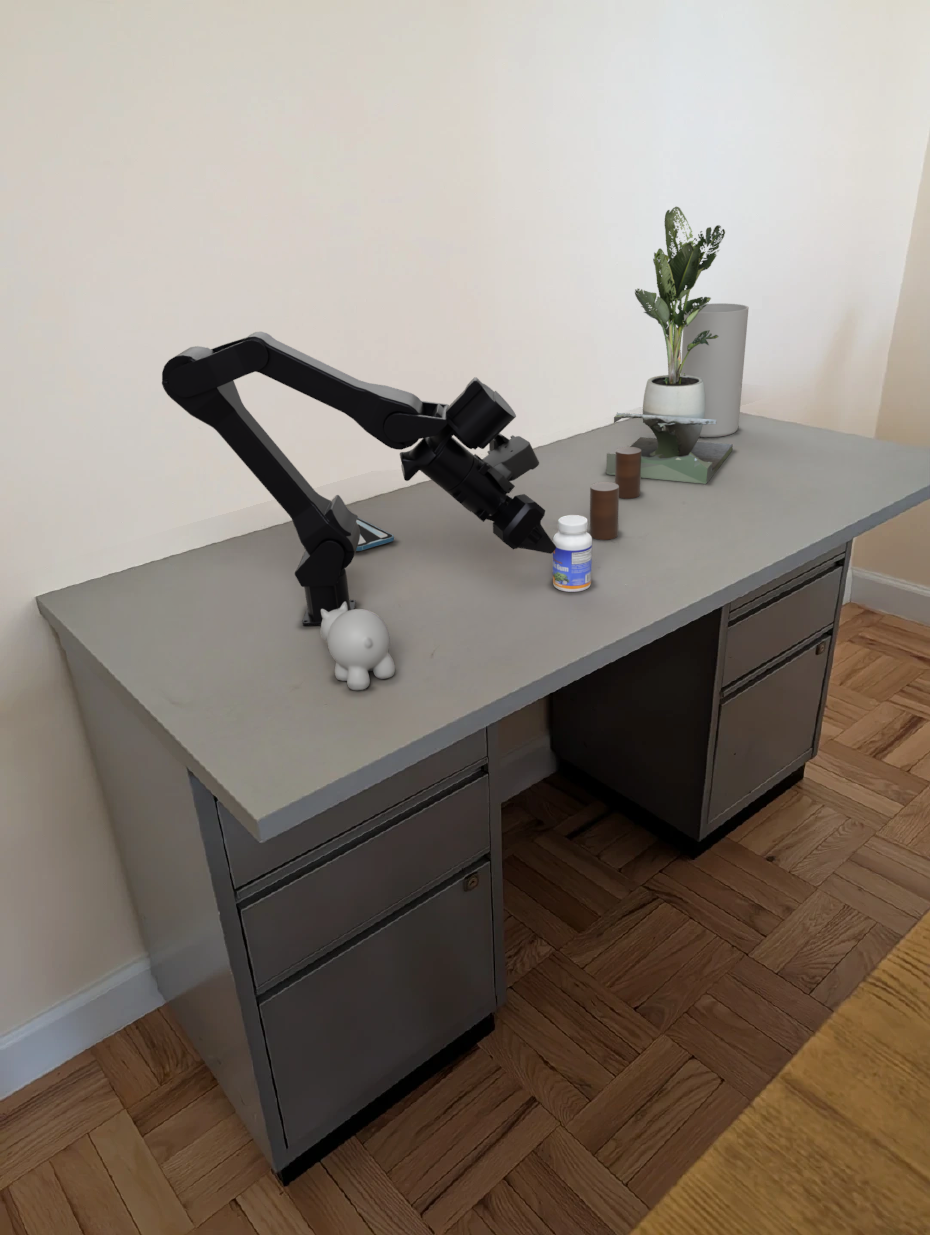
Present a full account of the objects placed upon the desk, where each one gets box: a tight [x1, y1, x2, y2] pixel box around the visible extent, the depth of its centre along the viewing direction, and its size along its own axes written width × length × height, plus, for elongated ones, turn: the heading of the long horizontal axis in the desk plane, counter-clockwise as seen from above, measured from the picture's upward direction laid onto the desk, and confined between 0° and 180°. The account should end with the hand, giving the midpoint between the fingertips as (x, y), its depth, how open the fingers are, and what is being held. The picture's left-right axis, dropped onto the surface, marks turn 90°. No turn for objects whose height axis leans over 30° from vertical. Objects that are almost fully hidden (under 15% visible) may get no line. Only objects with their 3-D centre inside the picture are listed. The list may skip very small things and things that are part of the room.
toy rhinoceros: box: [319, 601, 396, 691], centre depth 105 cm, size 7×12×8 cm, turn 34°
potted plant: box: [605, 206, 733, 485], centre depth 163 cm, size 22×19×45 cm
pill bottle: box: [552, 514, 593, 593], centre depth 123 cm, size 5×5×10 cm
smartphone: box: [356, 517, 395, 552], centre depth 147 cm, size 7×1×15 cm
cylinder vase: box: [680, 303, 749, 438], centre depth 186 cm, size 12×12×25 cm
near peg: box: [589, 481, 620, 541], centre depth 140 cm, size 4×4×8 cm
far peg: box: [614, 446, 641, 500], centre depth 156 cm, size 4×4×8 cm
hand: (539, 538), depth 120 cm, fingers open, 9 cm apart
